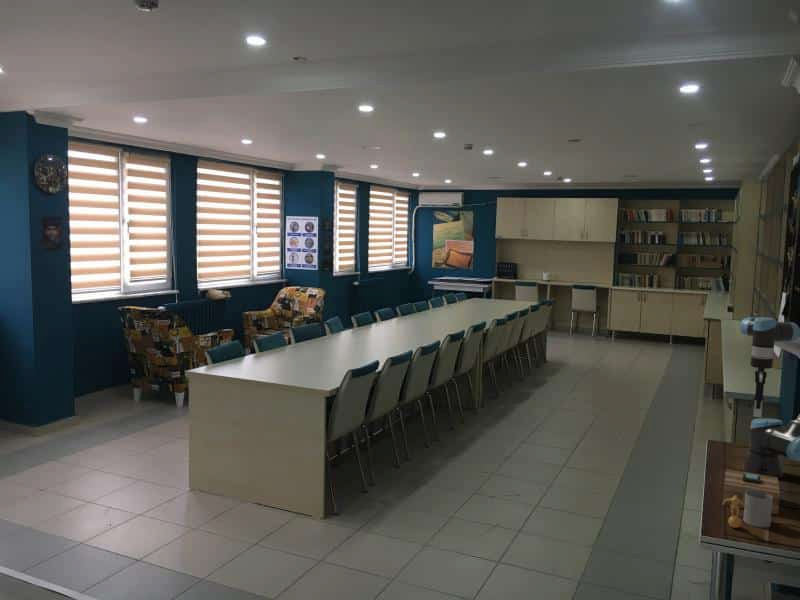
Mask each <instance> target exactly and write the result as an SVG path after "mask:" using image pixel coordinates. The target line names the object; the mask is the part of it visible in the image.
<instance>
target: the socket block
mask: <svg viewBox="0 0 800 600" xmlns="http://www.w3.org/2000/svg"><path fill="white" fill-rule="evenodd" d="M746 474H750V475H756V476H758V480H753V479H747V478H746ZM779 483H780V482H779V478H777V477H771V476H765V475H759V474H753V473H747V472H745V471H738V470H734V469H729V468H725V472H724V482H723V497H722V503H723V502H724V500H725V499H730V498H733V497H734V496H735V495H737V498H738V500H740V501H741V502H742V503H744V504H745V493H746V491H748V490H757V491H762V492H766V493H768V494H770V495H772V496H773V498H772V511H771V515H772V514H773V515H779V507H780V494H781V492H780V485H779ZM723 505H724V506H730V507H731V505H733V504H732V502H731V501H726V502H725V503H724V504H723ZM738 506H739V509H741V508H742V509H744V505H742V504H740V503H738V505H737V507H738Z"/></svg>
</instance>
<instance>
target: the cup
mask: <svg viewBox="0 0 800 600" xmlns="http://www.w3.org/2000/svg"><path fill="white" fill-rule="evenodd" d="M772 498H773V496H772V495H770V494H768V493H766V492H762V491H757V490H748V491H746V493H745V505H746V507H747V508H748V510H747V509H746V508H745V506H744V508H743V519H742V520H743V521H744V522H745V523H746V524H747V525H749V526H752V527H757V528H769V527H771V521H772V513H771V511H772ZM748 511H749V512H748Z"/></svg>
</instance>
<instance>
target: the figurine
mask: <svg viewBox="0 0 800 600" xmlns="http://www.w3.org/2000/svg"><path fill="white" fill-rule="evenodd" d="M726 501H731V502H732V504H733V505H731V506H730V511H731V512H730V513H731V516H730V517H729V518H728V524H729V526H730V527H732V528H734V529H737V528H740V527H741V526H742V520H741V518H740V517H739V515H740V514H739V513H740V507H739V506H738V507H737V505H738V503H740V504H742V505H744V506H745V508H746V509H747V510H748V508H747V507H746V505H745V504H744V503H742V502H741V501H740V500H738V498H737V495H735V496H734V497H733V498H730V499H725V500H724V502H723V501H722V503H721V506H723V505H724V503H725V502H726ZM734 510H735V511H736V513H735V515H734ZM748 512H749V511H748Z"/></svg>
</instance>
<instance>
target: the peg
mask: <svg viewBox="0 0 800 600" xmlns="http://www.w3.org/2000/svg"><path fill="white" fill-rule="evenodd" d="M746 478H747V479H753V480H758V476H756V475H750V474H746Z"/></svg>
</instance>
